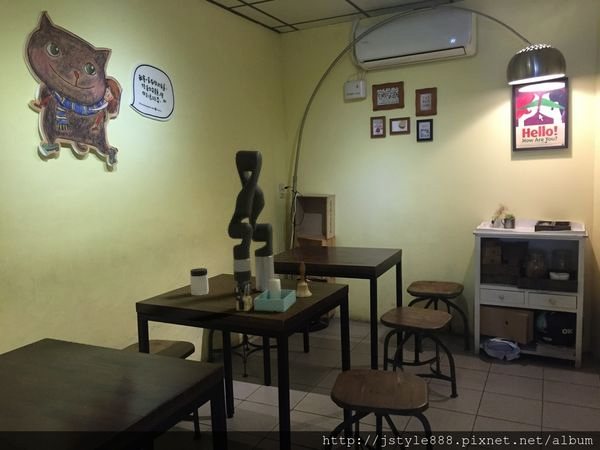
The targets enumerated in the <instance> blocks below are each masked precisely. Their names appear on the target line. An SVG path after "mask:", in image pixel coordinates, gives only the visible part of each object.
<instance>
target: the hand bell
mask: <svg viewBox="0 0 600 450" xmlns="http://www.w3.org/2000/svg"><path fill="white" fill-rule="evenodd" d="M305 272H306V265H305V262H304V261H301V262H300V264H299V273H300V282H299V283H298V284H297V290H296V291H295V295H296V297H297V298H307V297H311V296H312V294H313V293H312V292H310V290H309V287H308V283H306V282H305Z"/></svg>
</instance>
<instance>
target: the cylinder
mask: <svg viewBox="0 0 600 450" xmlns="http://www.w3.org/2000/svg"><path fill="white" fill-rule="evenodd" d="M281 290H282V289H281V279H280V278H274V279H270V280H269V292H270V299H277V300H281Z"/></svg>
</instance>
